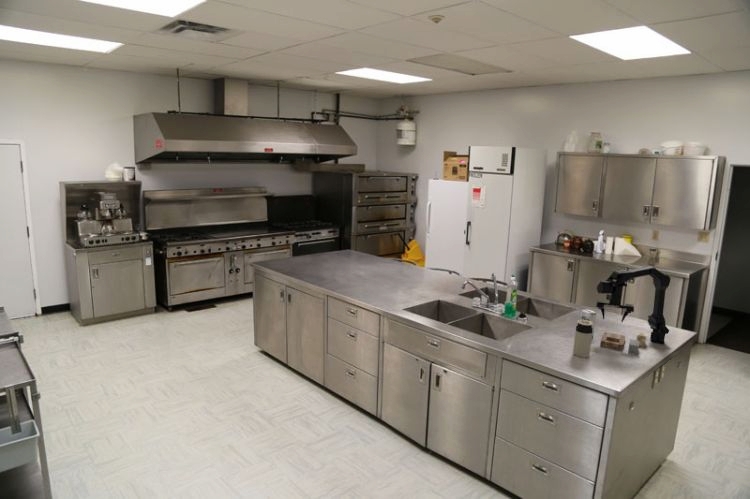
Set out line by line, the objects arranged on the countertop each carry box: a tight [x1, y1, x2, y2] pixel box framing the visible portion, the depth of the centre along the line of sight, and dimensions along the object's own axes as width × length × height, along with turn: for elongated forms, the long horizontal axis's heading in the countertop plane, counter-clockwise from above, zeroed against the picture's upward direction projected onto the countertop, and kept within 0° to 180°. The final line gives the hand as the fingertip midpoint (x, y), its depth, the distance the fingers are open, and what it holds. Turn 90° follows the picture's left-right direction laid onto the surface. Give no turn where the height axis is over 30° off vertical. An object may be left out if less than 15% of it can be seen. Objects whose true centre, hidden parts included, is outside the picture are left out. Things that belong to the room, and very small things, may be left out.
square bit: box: [636, 332, 648, 348], centre depth 272 cm, size 4×4×6 cm
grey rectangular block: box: [627, 338, 640, 356], centre depth 263 cm, size 4×9×5 cm, turn 151°
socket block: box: [599, 331, 626, 352], centre depth 273 cm, size 11×17×3 cm, turn 149°
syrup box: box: [580, 309, 597, 337], centre depth 283 cm, size 6×6×14 cm
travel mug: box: [572, 319, 593, 359], centre depth 254 cm, size 8×8×18 cm
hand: (612, 320), depth 272 cm, fingers open, 9 cm apart
